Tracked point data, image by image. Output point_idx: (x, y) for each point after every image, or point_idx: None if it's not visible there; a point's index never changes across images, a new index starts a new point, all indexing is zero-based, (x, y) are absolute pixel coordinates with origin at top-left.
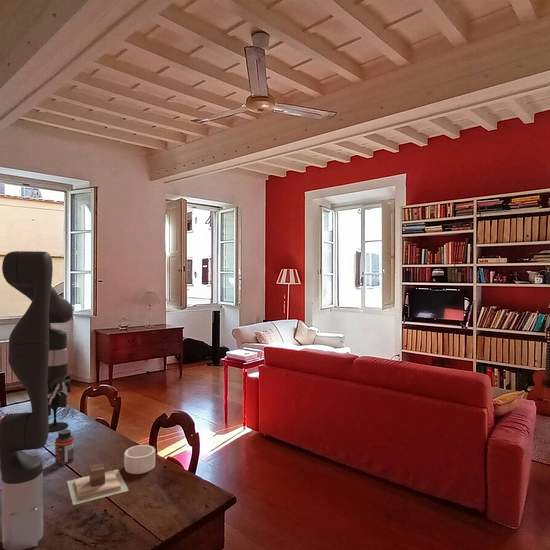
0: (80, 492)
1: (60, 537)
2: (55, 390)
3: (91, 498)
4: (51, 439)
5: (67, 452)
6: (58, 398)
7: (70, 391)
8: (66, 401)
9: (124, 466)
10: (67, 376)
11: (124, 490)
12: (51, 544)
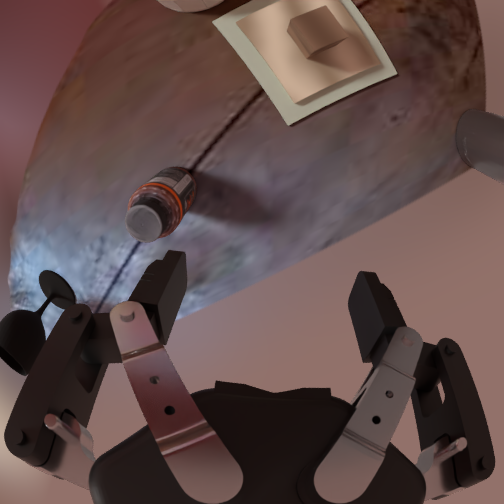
0: (362, 65)
1: (472, 80)
2: (380, 424)
3: (370, 39)
4: (91, 274)
5: (180, 181)
6: (25, 325)
7: (76, 307)
8: (158, 271)
9: (208, 5)
10: (37, 461)
11: None
12: (484, 92)
